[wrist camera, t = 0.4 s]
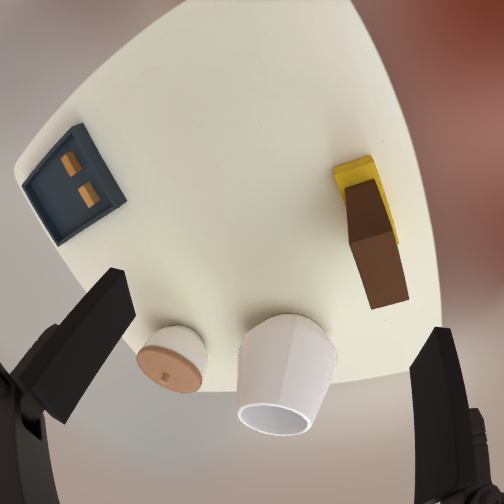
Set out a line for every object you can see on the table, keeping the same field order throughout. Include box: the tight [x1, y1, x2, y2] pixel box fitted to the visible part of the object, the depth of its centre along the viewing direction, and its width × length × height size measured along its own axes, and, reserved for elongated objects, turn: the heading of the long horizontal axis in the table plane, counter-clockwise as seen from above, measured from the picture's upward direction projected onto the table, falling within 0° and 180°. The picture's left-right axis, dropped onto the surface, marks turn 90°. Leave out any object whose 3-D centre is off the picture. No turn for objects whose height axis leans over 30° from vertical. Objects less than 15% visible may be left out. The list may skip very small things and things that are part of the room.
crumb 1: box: [61, 151, 82, 177], centre depth 34 cm, size 1×3×1 cm, turn 28°
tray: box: [22, 123, 127, 247], centre depth 37 cm, size 17×12×2 cm
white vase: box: [237, 314, 337, 436], centre depth 37 cm, size 13×13×14 cm
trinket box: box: [137, 325, 208, 393], centre depth 45 cm, size 11×11×9 cm
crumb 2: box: [78, 182, 100, 208], centre depth 36 cm, size 1×3×1 cm, turn 27°
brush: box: [333, 155, 409, 310], centre depth 24 cm, size 9×4×12 cm, turn 27°
